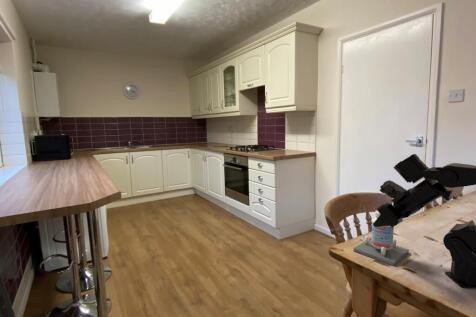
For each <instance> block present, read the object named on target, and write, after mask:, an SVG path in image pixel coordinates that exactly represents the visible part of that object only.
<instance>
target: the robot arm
mask: <svg viewBox="0 0 476 317" xmlns="http://www.w3.org/2000/svg"><path fill="white" fill-rule="evenodd" d="M393 169H394V170H395V171H396V172H397V173H398V175H400V176H401V177H402V178H403V180H404V181H405V182H406V183H409V184H410V183H412V184H416V183H418V182H419V183H418V184H416V185H415V186H413V187H411V188H408V189H406V188H404V187H403V186H401V185H399V184H398V183H396V182H394V181H392V180H390V179H389V180H385V181H384V182H383V183H382V185H380V187H379V192H380V193H382V194H384V195H386V196H388V197H390V198H391V202H392V203H389V202H386V203H384V204H381V205H380V206H379V207H377V208H376V211H378V212H379V213H380V214H381V215H380V216H379V217H378V218H377V220H376V221H375V222H374V223H373V225H374V227H381V226H391V227H394V228H395V227H396V226H397V225H400V224H401V223H403V220H404V219H406V218H409V217H410V216H411V215H414V214H416V213H418V212H419V211H421V209H423V208H425V207H426V206H428V205H429V204H431V203H433V202H434V201H436V200H437V199H440V198H443V199H444V200H445V201H447V202H450V201H451V200H452V199H453V198H454V197H453V193H454V190H453V189H455V188H463V187H471V186H476V165H473V164H467V163H466V164H465V163H460V162H459V163H457V162H453V163H448V164H446V165H444V166H433V167H429V166H428V165H426V163H424V161H422V160H421V158H420V157H419V156H418V155H417V153H413V154H411V155H409V156H407V157H406V158H405V159H403V160H400V161H399V162H398V163H396V164H395V165H394V166H393ZM423 178H424V179H423ZM422 179H423V180H422ZM421 180H422V181H421ZM450 188H451V189H450ZM442 240H443V241H442V242H443V245H444V247H445V248H446V249H447V251H449V253H450V257H451V265H450V271H445V272H444V274H445V275H446V276H447V277H448V278H449V279H450V280H452V281H453V282H454V283H455V284H457V285H458V287H461V288H467V289H469V288H470V289H476V224H475V221H474V220H473V219H471V220H469V221H467V222H464V223H455V225H453V226H452V227H451V228H450V230H449V231H448V232H447V233H446V234H445V235H444V236H443V239H442Z"/></svg>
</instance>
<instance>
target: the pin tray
mask: <svg viewBox="0 0 476 317" xmlns="http://www.w3.org/2000/svg"><path fill="white" fill-rule="evenodd" d="M371 241H372V237H369V236H367V235H365V236H364V241H362V242H361V243H359V244H357V245H356V246H355V247H353V249H352V250H353V252H354V253H356V254H360V255H363V256H366V257H367V258H368V257H369V258H372V260H373V259H374V260H376V261H379V262H382V263H385V264H387V265H389V266H390V265H391V266H393V267H394V266H395V265H396V264H398V263H399V262H400V261H401V260H402V259H403V258H404V257H406V255H408V254H409V252H410V249H408V248H406V247H402V246H399V245H397V240H396V239H394V238H393V247H392V249H390V250H386V248H385V247H381V249H378V248H375V247H374V246H373V245H372V243H371Z"/></svg>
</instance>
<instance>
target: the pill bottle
mask: <svg viewBox="0 0 476 317" xmlns="http://www.w3.org/2000/svg"><path fill="white" fill-rule="evenodd" d="M374 215H375V217H374V218H373V219H372V224H371V238H372V241H371V243H372V245H373V246H374V247H375V248H378V249H381V247H385V248H386V250H390V249H392V247H393V239H394V232H395V226H394V227H391V226H381V227H374V225H373V223H374V222H375V221H376V220H377V218H378V217H379V216H380V215H381V214H380V213H379V212H378V211H377V210H375V213H374Z"/></svg>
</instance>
